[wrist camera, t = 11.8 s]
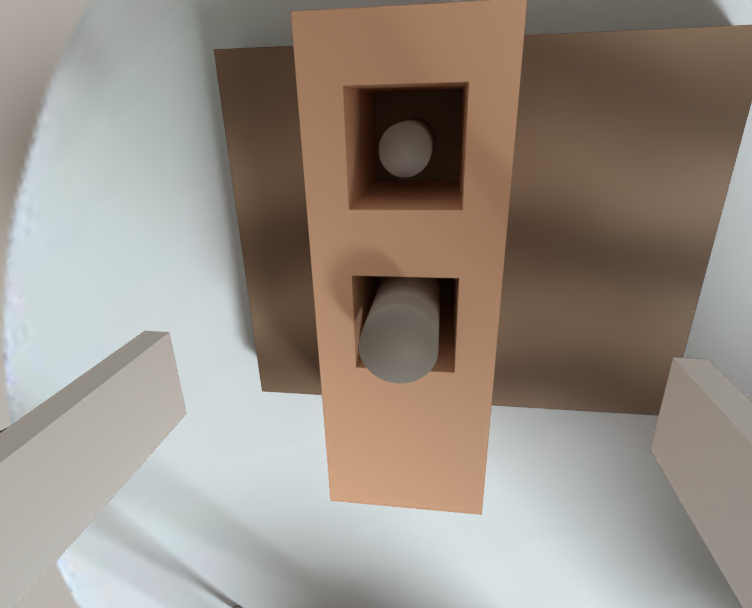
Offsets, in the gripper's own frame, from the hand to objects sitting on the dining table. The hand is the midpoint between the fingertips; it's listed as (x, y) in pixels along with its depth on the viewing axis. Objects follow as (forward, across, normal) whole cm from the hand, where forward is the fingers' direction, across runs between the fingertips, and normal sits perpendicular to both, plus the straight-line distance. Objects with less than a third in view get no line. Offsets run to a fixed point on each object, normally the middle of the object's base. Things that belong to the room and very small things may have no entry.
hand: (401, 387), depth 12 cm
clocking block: (+9, 0, 0) cm, 9 cm away
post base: (+11, -2, -1) cm, 11 cm away
